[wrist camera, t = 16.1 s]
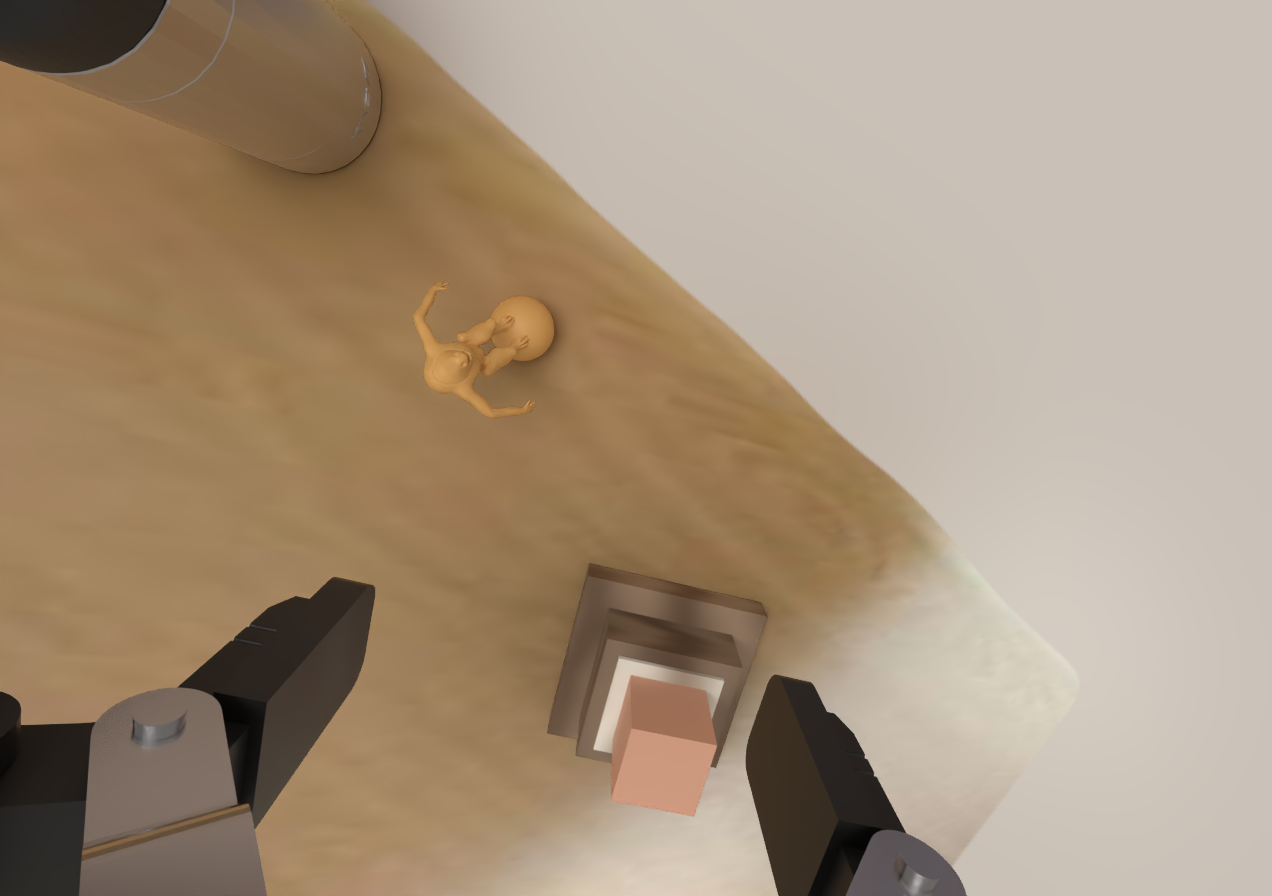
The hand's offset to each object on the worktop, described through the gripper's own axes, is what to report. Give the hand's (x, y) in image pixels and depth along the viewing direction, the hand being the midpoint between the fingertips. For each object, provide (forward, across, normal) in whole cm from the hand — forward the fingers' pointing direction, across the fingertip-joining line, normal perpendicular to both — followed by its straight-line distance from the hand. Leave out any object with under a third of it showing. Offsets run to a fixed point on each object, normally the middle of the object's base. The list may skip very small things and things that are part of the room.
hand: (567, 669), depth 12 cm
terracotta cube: (+24, -8, +18) cm, 31 cm away
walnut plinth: (+30, -8, +18) cm, 36 cm away
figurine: (+30, +7, -3) cm, 31 cm away
